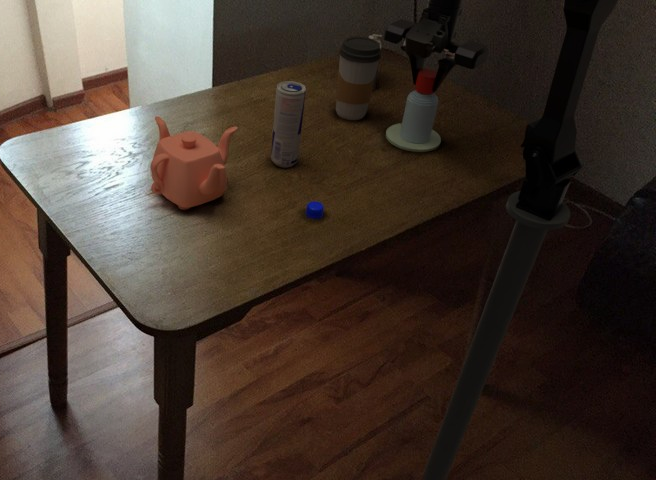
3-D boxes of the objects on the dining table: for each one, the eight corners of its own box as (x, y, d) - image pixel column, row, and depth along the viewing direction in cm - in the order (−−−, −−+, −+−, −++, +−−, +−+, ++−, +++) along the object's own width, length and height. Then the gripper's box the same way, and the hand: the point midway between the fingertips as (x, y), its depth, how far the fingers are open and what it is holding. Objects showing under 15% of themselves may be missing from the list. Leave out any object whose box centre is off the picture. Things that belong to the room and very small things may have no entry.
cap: (431, 85, 137) (435, 68, 135) (438, 94, 134) (442, 77, 132) (411, 85, 136) (415, 68, 134) (418, 94, 133) (422, 77, 131)
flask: (361, 72, 165) (369, 26, 158) (373, 73, 165) (382, 27, 158) (364, 89, 158) (372, 42, 151) (377, 90, 158) (385, 43, 151)
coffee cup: (372, 124, 145) (385, 53, 136) (332, 121, 145) (342, 50, 135) (368, 106, 152) (380, 36, 142) (329, 103, 151) (339, 34, 142)
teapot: (157, 168, 127) (155, 112, 120) (235, 177, 127) (238, 121, 119) (137, 212, 116) (133, 153, 109) (222, 223, 116) (224, 164, 108)
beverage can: (300, 158, 133) (309, 83, 123) (293, 171, 129) (301, 94, 119) (275, 153, 134) (281, 77, 124) (266, 165, 130) (272, 88, 120)
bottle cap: (313, 220, 118) (314, 212, 117) (301, 212, 120) (303, 203, 118) (326, 215, 119) (328, 207, 118) (315, 207, 121) (316, 198, 120)
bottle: (433, 143, 139) (449, 82, 131) (405, 143, 138) (418, 83, 130) (423, 128, 144) (437, 69, 136) (395, 129, 143) (408, 69, 135)
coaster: (449, 138, 143) (450, 135, 142) (423, 158, 136) (424, 155, 136) (402, 120, 148) (403, 117, 147) (375, 138, 141) (375, 135, 140)
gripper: (375, -1, 123) (361, 84, 134) (472, 29, 115) (449, 117, 125) (407, -14, 130) (391, 68, 140) (500, 13, 122) (476, 98, 132)
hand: (424, 87), depth 134 cm, fingers closed on cap, 4 cm apart
